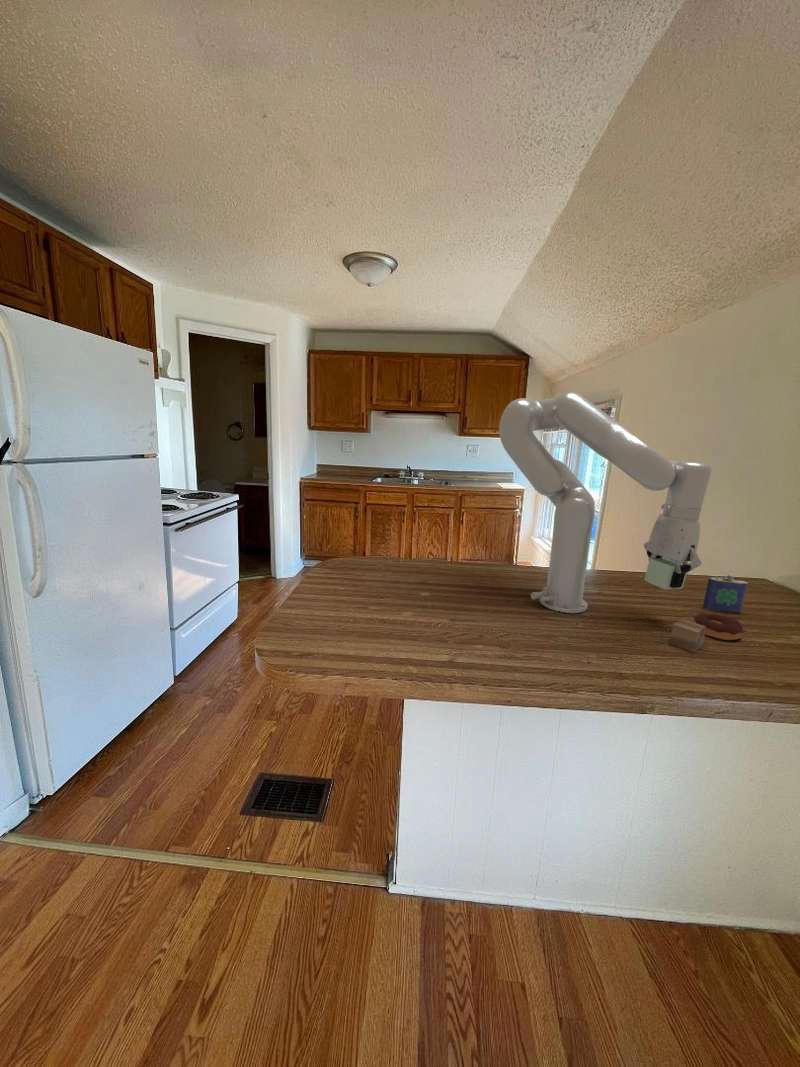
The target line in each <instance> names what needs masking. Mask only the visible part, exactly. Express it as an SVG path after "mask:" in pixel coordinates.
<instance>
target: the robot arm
mask: <svg viewBox="0 0 800 1067" xmlns="http://www.w3.org/2000/svg"><path fill="white" fill-rule="evenodd" d="M498 427H499V428H498V431H499V432H498V433H499V434H498V435H499V439H500V443H501V444H502V447H503V448H504V450H505V452H506V453H507V455H508V456H509V457H510V459H511V460H512V461H513V463H514V464H515V465H516V467H517V468H518V469H519V470H520V472H521V473H522V474H523V475H524V477H525V478H526V479H527V480H528V483H529V484H531V486H532V487H533V489H534V491H536V492H537V493H539V494H540V495H541V496H545V497H547V498H548V499H549V501H550V502H551V503H552V504H553V505H554V507H555V510H554V515H553V527H552V528H553V529H552V537H551V538H552V539H551V548H550V556H549V557H550V558H549V566H548V574H547V582H546V586H544V587H543V588H542V590H540V591H533V592H531V593H530V598H531V599H532V600H539V601H538V602H539V603H540V604H541V605H542V606H544V607H546V608H547V609H550V610H551V611H556V612H559V611H560V613H564V612H565V614H579V613H584V612H585V611H587V609H588V603H587V601H586V600H585V599H584V598H583V597H584V596H583V595H584V588H585V581H586V575H587V568H588V567H587V566H588V562H589V561H588V560H589V555H590V554H589V551H590V544H591V538H592V531H593V526H594V521H595V513H596V505H595V500H594V497H593V496H592V494H591V493H590V491H588V489H587V488H586V487H585V486H584V485H583V483H582V482H581V481H580V480H579V479H578V478H577V477H576V475H575V474H574V473H573V471H571V469H570V468H569V467H568V466H567V464H565V463H564V462H562V461H560V460H558V459H555V458H554V457H553V456H552V455H551V453H550V452H549V451H548V450H547V448H546V447H545V446H544V445H543V444H542V442H541V441H540V440H539V439H538V438H537V437H536V435H535V433H534V432H535V431H537V432H538V431H544V430H545V431H546V430H553V429H554V430H556V429H562V428H563V429H564V430H566V431H567V432H569V433H570V434H571V435H573V436H574V437H575V438H577V439H578V440H579V441H580V442H582V443H583V444H585V445H586V446H587V447H588V448H589V449H590V450H592V451H594V452H595V453H596V454H597V455H598V456H600V457H601V458H604V459H606V460H607V461H609V462H610V463H611V464H613V465H614V466H615V467H616V468H618V469H620V470H621V471H622V472H623V473H624V474H626V475H627V476H629V477H630V478H632V479H633V481H635V482H637V483H638V484H639V485H640V486H641V487H643V488H644V489H646V490H649V491H653V492H654V491H655V492H659V491H663V490H665V489H667V488H668V490H667V493H666V498H665V502H664V503H663V504H662V505H661V507H660V508H661V510H662V514H658V516H657V518H656V520H655V522H654V525H653V527H652V530H651V532H650V536H649V539H648V541H646V542H645V543H643V547H644V550H645V552H646V555H647V557H648V560H649V559H650V558H667V559H669V560H672V561H675V566H676V572H673V576H672V579H671V583H670V587H671V588H680V587H681V586H682V584H683V581H684V577H685V573H687V574H688V573H689V572H691V571H693V570H694V569H696V568H698V567H701V565H702V564H703V563H702V560H701V559H700V556H699V555H698V553H697V551H698V547H699V541H700V535H701V534H700V533H701V522H700V521H699V519H700V516H701V512H702V508H703V505H704V504H703V503H704V501H705V500H704V499H705V496H706V492H707V489H708V486H709V481H710V477H711V474H712V467H711V465H710V464H709V463H705V462H701V461H700V462H699V461H687V460H680V461H678V460H677V461H676V460H671V459H667V458H665V457H663V456H662V455H661V454H660V453H658V452H657V451H655V450H654V449H653V448H651V447H650V445H649V446H648V445H647V444H646V443H644V442H643V441H642V440H640V439H639V438H637V437H636V436H635V435H634V434H633V433H631V432H630V431H629V430H628V429H627V427H625V426H623V425H622V424H621V423H620V422H618V421H617V420H616V419H614V418H613V417H611V416H610V415H609V414H608V413H606V412H604V411H603V410H602V409H600V408H599V407H598V406H597V405H595V404H594V403H592V401H590V400H588V398H585V397H584V396H583V395H581V394H579V393H578V392H575V391H566V392H564V393H562V394H561V395H559V396H556V397H551V398H544V399H543V398H542V399H541V398H540V399H535V400H532V399H529V398H526V397H523V398H522V397H520V398H517V399H514V400H512V401H511V402H510V403H509V404H507V406H506V407H505V409H504V410H503V412H502V415H501V417H500V420H499V426H498ZM681 563H682V565H681ZM684 582H685V581H684ZM680 589H681V588H680Z"/></svg>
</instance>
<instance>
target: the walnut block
mask: <svg viewBox="0 0 800 1067" xmlns="http://www.w3.org/2000/svg"><path fill="white" fill-rule="evenodd" d="M693 622H694V621H690V620H686V619H683V618H681V619H680V620H678V621H676V622H674V623H673V624H672V628H671V629H672V630H671V634H670V639H669V644H670V645H672V646H674V647H677V648H680V649H683V650H686V651H688V652H691V653H696V652H698V650H699V649H701V648H702V647H703V644H704V639H705V636H706V635H705V631H706V626H703V625H699V624H696V623H693Z"/></svg>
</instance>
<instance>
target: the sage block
mask: <svg viewBox="0 0 800 1067" xmlns="http://www.w3.org/2000/svg"><path fill="white" fill-rule="evenodd" d="M681 565H682V563H681ZM673 572H676V566H675V561H672V560H669V559H667V558H664V557H663V558H650V559H649V558H648V564H647V567H646V572H645V576H644V581H645V582H646V583H649V584H651V585H653V586H656V587H658V588H659V589H663V590H674V589H675V590H677V589H679V590H680V589H683V588H684V585H685V581H686V578H687V574H688V573H685V577H684V581H683V584H682V586H681V587H680V588H671V587H670V583H671V579H672V576H673Z"/></svg>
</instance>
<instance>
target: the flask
mask: <svg viewBox="0 0 800 1067" xmlns="http://www.w3.org/2000/svg"><path fill="white" fill-rule="evenodd" d="M734 578H735V576H734V575H733V574H731V573H730V574H727V576H726V577H721V576H720V577H718V576H715V577H709V578H708V580H707V585H706V590H705V594H704V599H703V600H704V601H703V604H702V606H703V607H702V608H703V610H707V611H711V612H719V613H726V614H738V615H739V614H740V613H742V612H743V606H744V603H745V598H746V593H747V589H748V585H749V583H748V582H747V581H743V580H735V579H734Z"/></svg>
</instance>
